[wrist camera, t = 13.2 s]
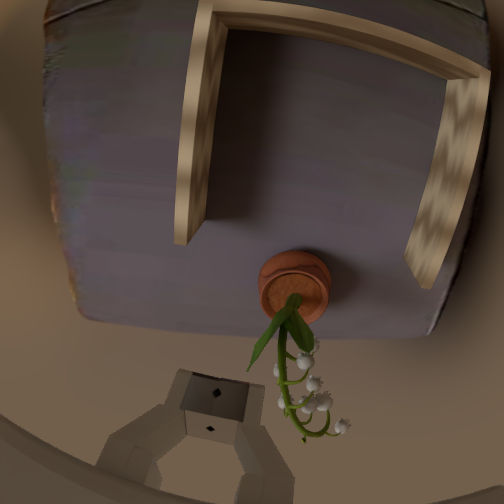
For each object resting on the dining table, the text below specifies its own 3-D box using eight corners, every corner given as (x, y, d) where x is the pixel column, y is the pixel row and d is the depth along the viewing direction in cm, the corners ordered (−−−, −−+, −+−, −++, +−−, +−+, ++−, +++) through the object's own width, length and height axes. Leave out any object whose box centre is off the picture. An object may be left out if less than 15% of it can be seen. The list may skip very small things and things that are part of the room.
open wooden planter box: (217, 17, 29) (199, -2, 22) (458, 74, 28) (490, 71, 21) (194, 218, 42) (173, 243, 34) (411, 258, 40) (430, 289, 33)
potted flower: (354, 272, 42) (392, 426, 20) (316, 320, 47) (320, 470, 24) (280, 232, 41) (260, 384, 19) (247, 287, 45) (207, 438, 23)
